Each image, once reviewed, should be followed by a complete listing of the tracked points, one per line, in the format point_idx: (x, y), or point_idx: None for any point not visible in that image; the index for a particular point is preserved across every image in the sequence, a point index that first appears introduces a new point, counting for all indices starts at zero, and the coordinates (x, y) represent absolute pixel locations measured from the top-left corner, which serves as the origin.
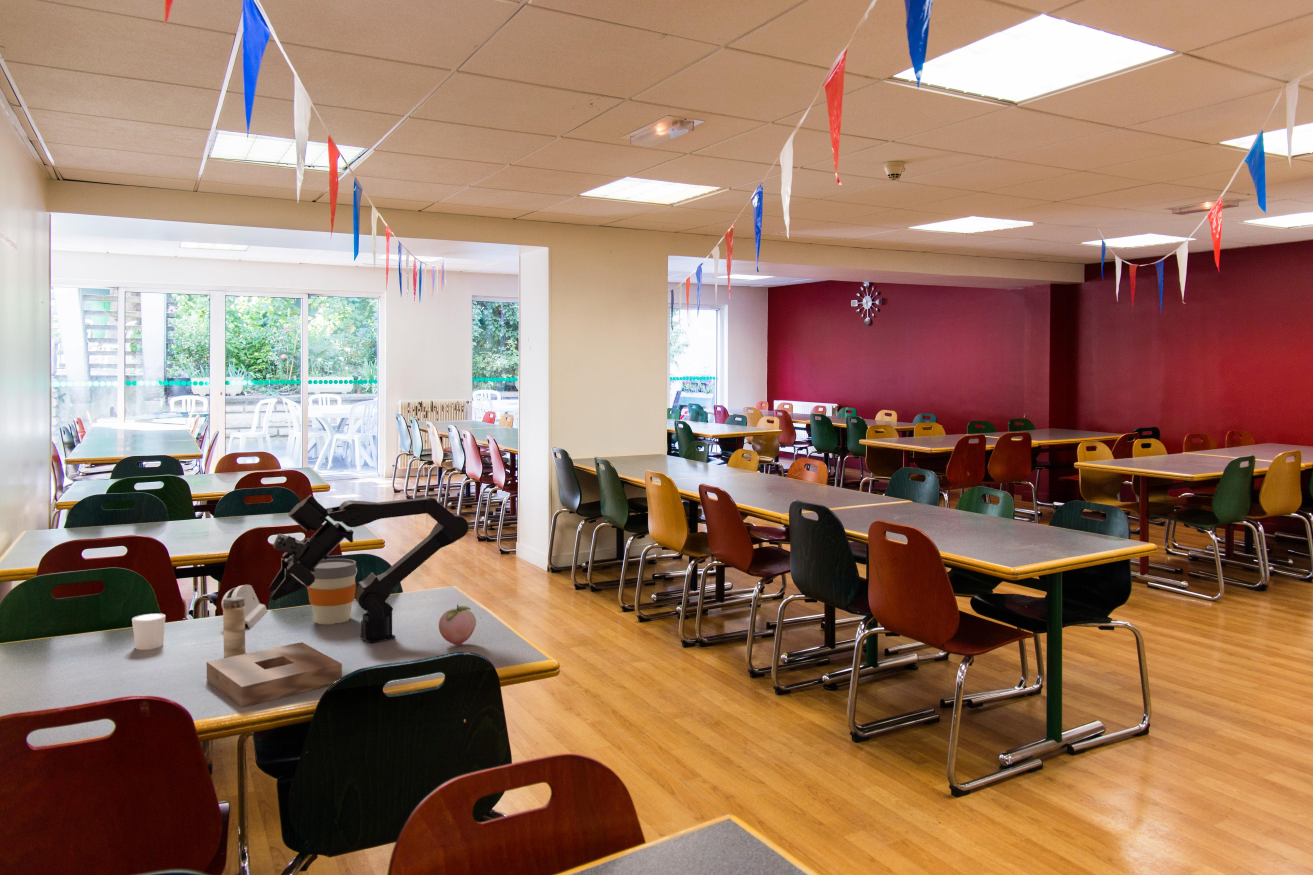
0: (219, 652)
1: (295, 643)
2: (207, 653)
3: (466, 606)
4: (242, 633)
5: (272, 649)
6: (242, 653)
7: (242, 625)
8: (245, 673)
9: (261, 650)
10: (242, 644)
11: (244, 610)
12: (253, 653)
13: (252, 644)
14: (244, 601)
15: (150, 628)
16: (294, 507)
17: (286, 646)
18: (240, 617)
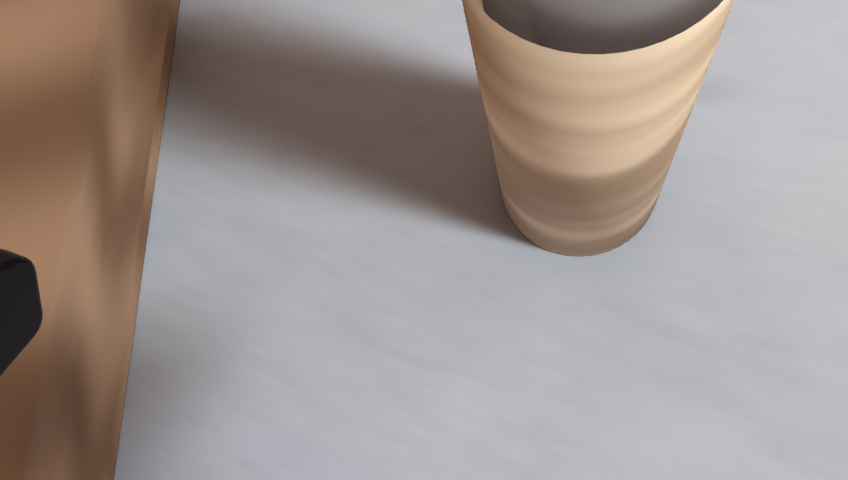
0: (742, 119)
1: (23, 475)
2: (776, 46)
3: None
4: (499, 149)
5: (26, 252)
6: (508, 209)
7: (492, 116)
8: None
9: (70, 178)
10: (504, 185)
11: (521, 72)
12: (54, 109)
13: (808, 400)
14: (531, 6)
15: None
16: None
17: (10, 375)
18: (473, 45)
